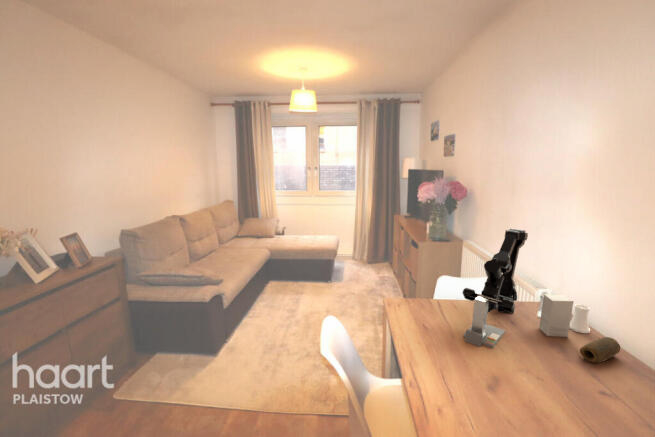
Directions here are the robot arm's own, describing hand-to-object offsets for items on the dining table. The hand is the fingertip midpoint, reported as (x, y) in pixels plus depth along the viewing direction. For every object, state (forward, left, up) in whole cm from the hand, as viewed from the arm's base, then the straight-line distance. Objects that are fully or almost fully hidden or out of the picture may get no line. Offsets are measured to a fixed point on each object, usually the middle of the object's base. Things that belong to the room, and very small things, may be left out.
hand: (481, 318), depth 124 cm
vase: (-15, +44, -8) cm, 47 cm away
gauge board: (-1, +2, -8) cm, 8 cm away
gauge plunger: (+3, 0, -6) cm, 7 cm away
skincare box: (-9, +31, -8) cm, 34 cm away
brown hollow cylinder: (+7, +38, -8) cm, 40 cm away
